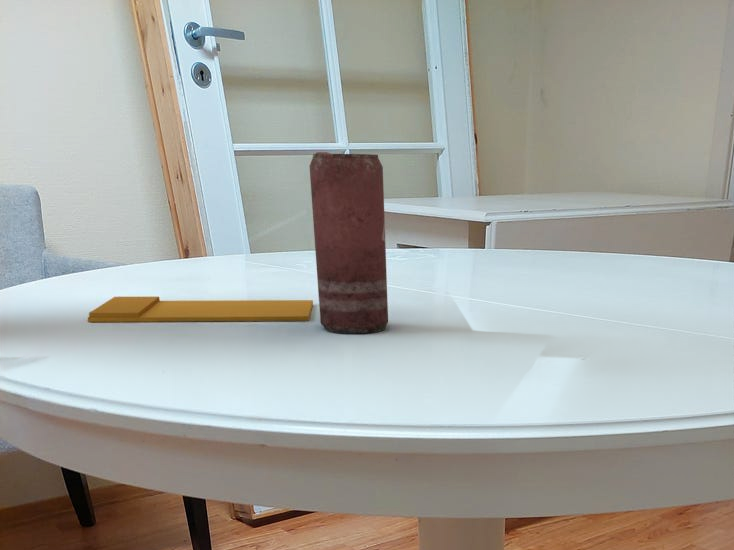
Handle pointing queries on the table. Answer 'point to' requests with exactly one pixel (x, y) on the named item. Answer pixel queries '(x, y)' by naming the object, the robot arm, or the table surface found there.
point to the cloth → (199, 310)
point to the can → (350, 241)
